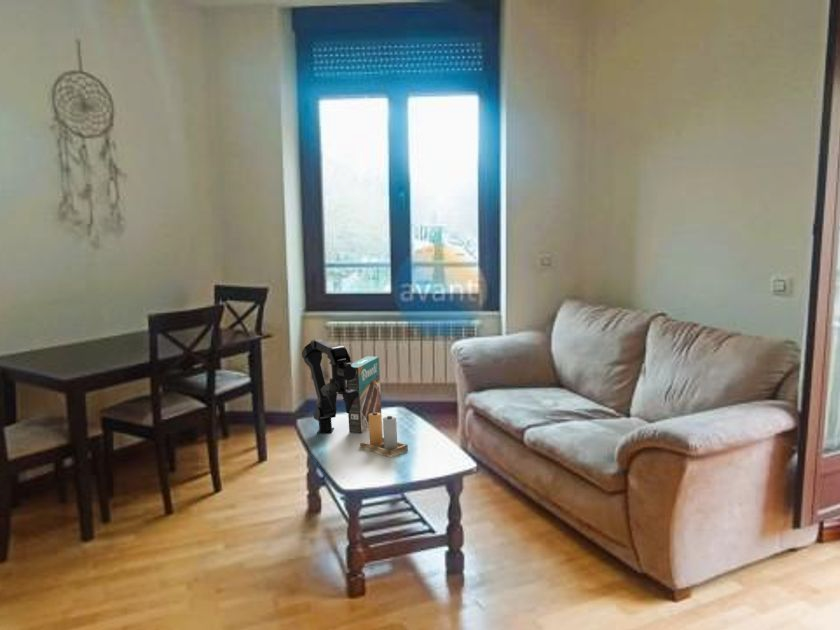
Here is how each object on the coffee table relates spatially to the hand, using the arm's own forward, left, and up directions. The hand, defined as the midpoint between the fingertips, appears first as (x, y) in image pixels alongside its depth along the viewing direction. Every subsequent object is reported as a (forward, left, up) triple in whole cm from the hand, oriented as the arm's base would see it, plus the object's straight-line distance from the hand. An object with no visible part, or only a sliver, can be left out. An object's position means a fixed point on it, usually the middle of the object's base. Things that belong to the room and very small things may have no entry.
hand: (340, 411), depth 291 cm
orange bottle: (+8, +16, -12) cm, 22 cm away
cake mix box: (-20, +7, -13) cm, 25 cm away
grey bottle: (+14, +23, -12) cm, 29 cm away
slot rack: (+11, +19, -13) cm, 26 cm away
